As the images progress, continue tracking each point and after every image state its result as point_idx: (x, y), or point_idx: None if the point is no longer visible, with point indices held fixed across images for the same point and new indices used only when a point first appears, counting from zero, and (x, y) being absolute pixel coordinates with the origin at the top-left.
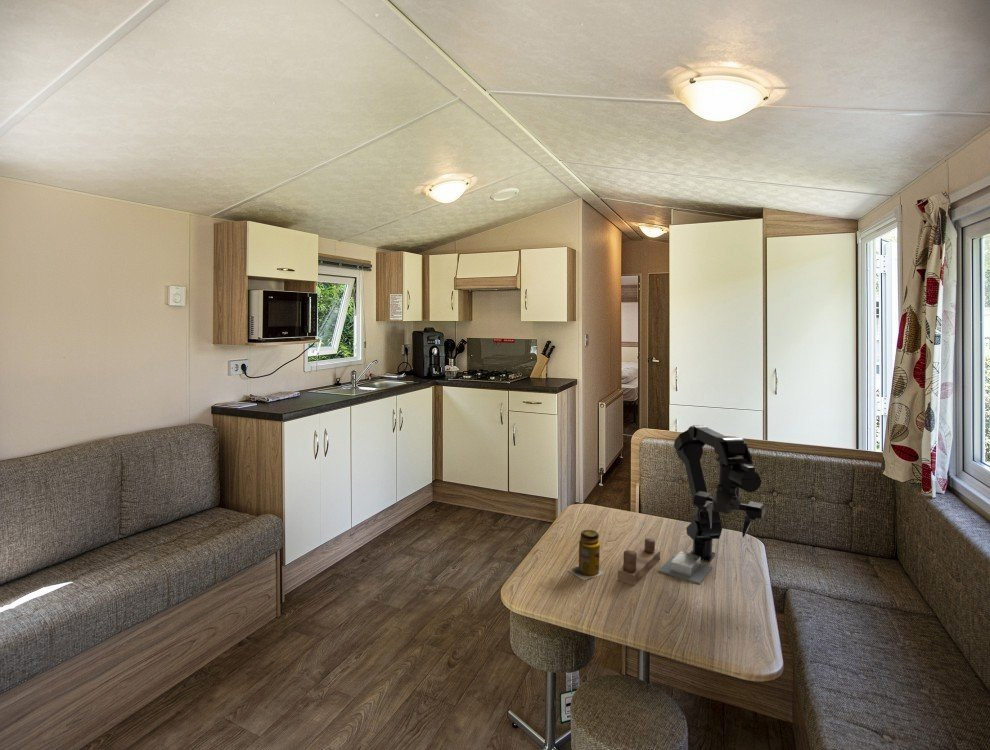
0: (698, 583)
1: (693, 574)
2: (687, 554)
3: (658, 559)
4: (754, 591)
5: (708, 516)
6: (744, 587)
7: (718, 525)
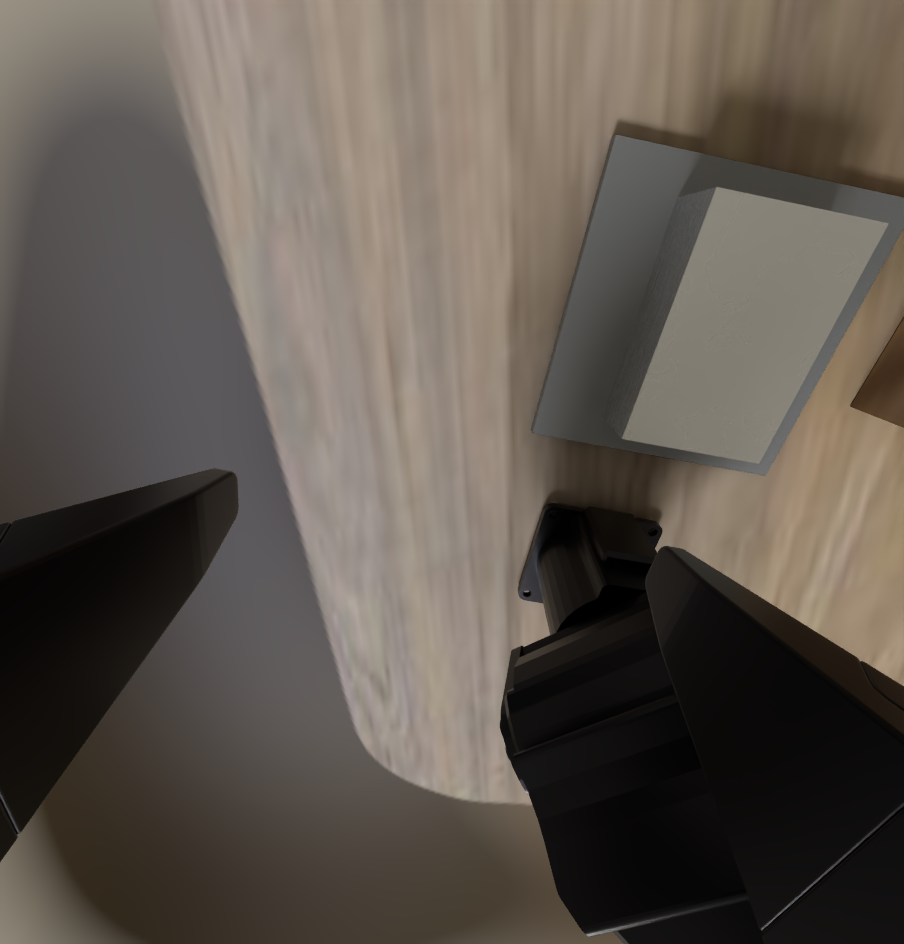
0: (623, 139)
1: (654, 263)
2: (716, 429)
3: (877, 382)
4: (267, 231)
5: (857, 697)
6: (330, 260)
7: (539, 719)
